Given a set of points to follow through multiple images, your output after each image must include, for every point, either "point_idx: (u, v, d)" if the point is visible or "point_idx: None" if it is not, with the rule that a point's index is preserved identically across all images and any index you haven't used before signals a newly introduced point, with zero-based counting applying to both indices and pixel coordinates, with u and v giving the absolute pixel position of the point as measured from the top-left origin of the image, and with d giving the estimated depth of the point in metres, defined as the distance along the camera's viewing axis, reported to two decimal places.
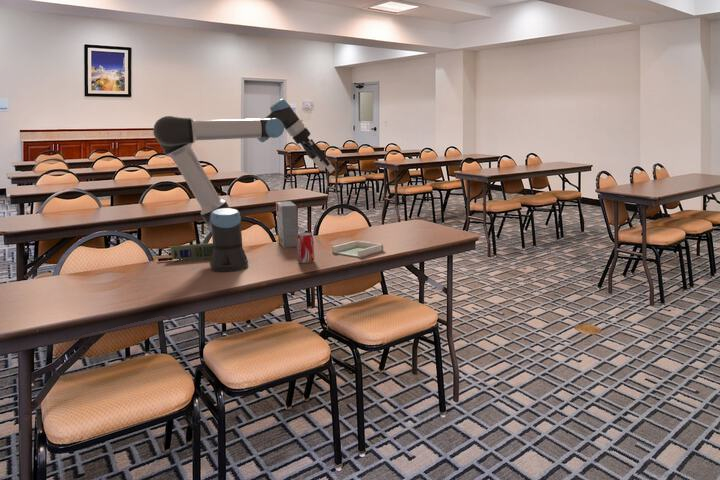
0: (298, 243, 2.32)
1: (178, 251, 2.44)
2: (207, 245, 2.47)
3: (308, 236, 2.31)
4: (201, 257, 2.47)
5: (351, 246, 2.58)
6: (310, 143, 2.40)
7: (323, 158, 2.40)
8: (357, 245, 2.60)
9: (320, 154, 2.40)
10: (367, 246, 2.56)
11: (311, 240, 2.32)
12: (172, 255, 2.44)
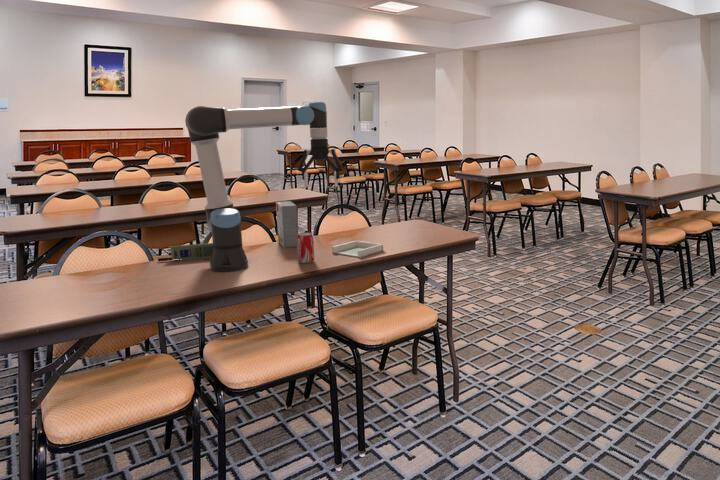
0: (298, 243, 2.32)
1: (178, 251, 2.44)
2: (207, 245, 2.48)
3: (308, 236, 2.31)
4: (201, 257, 2.48)
5: (351, 246, 2.58)
6: (334, 151, 2.47)
7: (342, 169, 2.48)
8: (357, 245, 2.60)
9: (340, 164, 2.48)
10: (367, 246, 2.56)
11: (311, 240, 2.32)
12: (172, 255, 2.44)
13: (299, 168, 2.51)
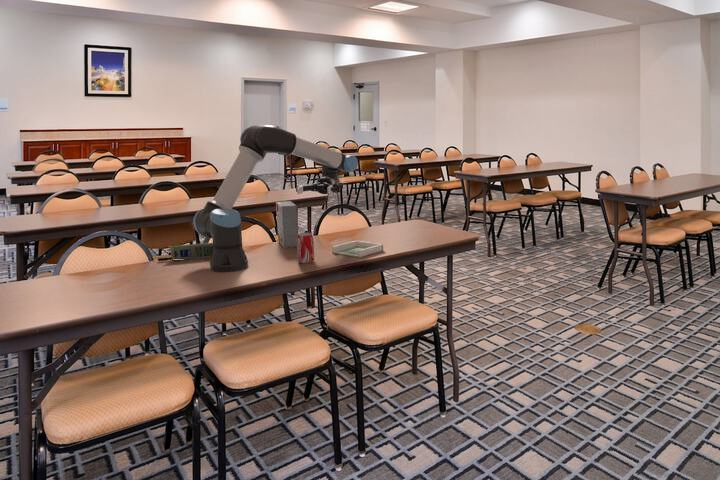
0: (298, 243, 2.32)
1: (178, 251, 2.45)
2: (207, 245, 2.48)
3: (308, 236, 2.31)
4: (201, 257, 2.48)
5: (351, 246, 2.58)
6: None
7: (339, 187, 2.50)
8: (357, 245, 2.60)
9: None
10: (367, 246, 2.56)
11: (311, 240, 2.32)
12: (172, 255, 2.44)
13: None
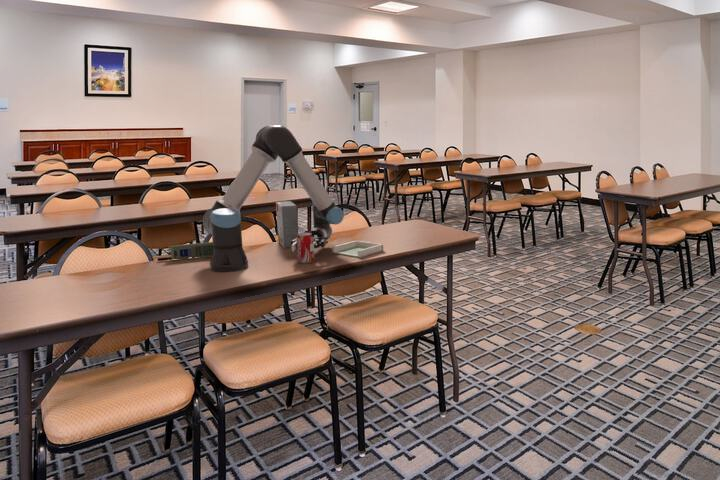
0: (298, 243, 2.32)
1: (178, 250, 2.45)
2: (206, 244, 2.50)
3: (308, 236, 2.31)
4: (201, 256, 2.49)
5: (351, 246, 2.58)
6: (327, 239, 2.43)
7: (323, 243, 2.35)
8: (357, 245, 2.60)
9: (324, 242, 2.37)
10: (367, 246, 2.56)
11: (311, 240, 2.32)
12: (172, 254, 2.45)
13: (292, 240, 2.39)
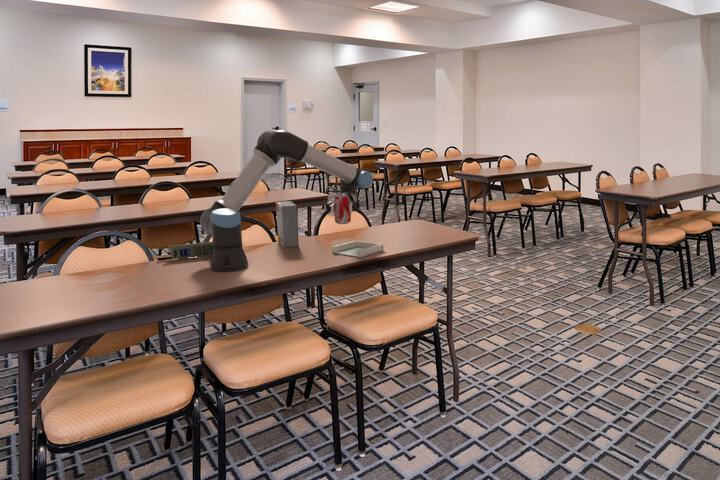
0: (336, 204, 2.39)
1: (178, 250, 2.46)
2: (206, 244, 2.50)
3: (346, 197, 2.39)
4: (200, 256, 2.50)
5: (351, 246, 2.58)
6: (359, 202, 2.51)
7: (359, 204, 2.43)
8: (357, 245, 2.60)
9: None
10: (367, 246, 2.56)
11: (349, 201, 2.39)
12: (172, 254, 2.46)
13: (328, 203, 2.45)
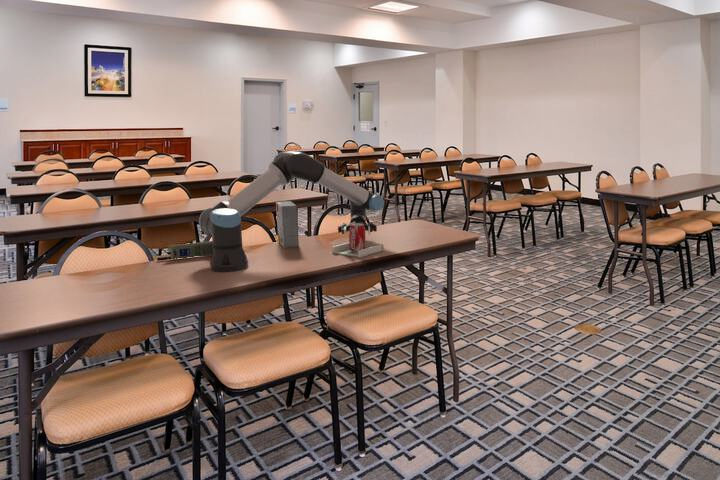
0: (352, 233, 2.46)
1: (177, 250, 2.47)
2: (205, 244, 2.51)
3: (362, 226, 2.46)
4: (200, 255, 2.51)
5: None
6: None
7: (376, 227, 2.52)
8: None
9: None
10: (367, 246, 2.56)
11: (364, 230, 2.47)
12: (171, 254, 2.46)
13: (339, 226, 2.53)
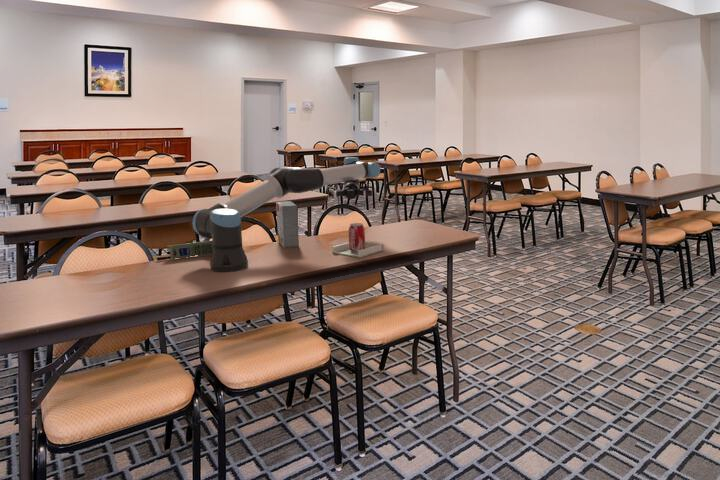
0: (352, 233, 2.46)
1: (177, 250, 2.47)
2: (205, 243, 2.53)
3: (361, 226, 2.47)
4: (199, 255, 2.52)
5: None
6: None
7: (371, 192, 2.64)
8: None
9: None
10: (367, 246, 2.56)
11: (363, 230, 2.48)
12: (171, 254, 2.47)
13: (330, 191, 2.65)
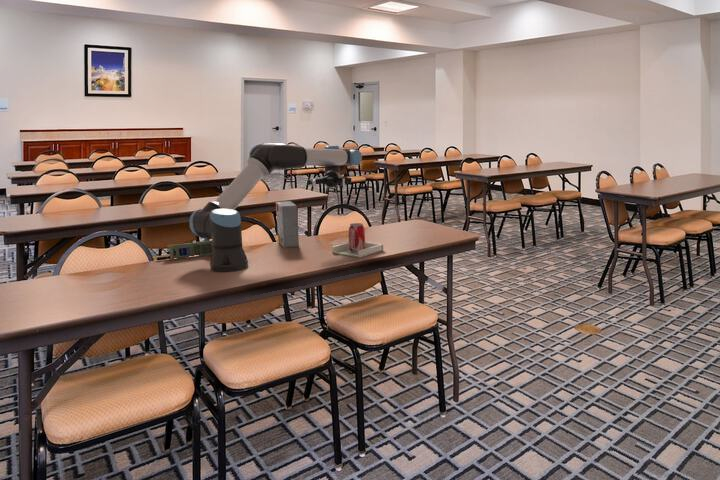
0: (352, 233, 2.46)
1: (177, 249, 2.48)
2: (204, 243, 2.53)
3: (361, 226, 2.47)
4: (199, 255, 2.52)
5: None
6: None
7: None
8: None
9: None
10: (367, 246, 2.56)
11: (363, 230, 2.48)
12: (171, 254, 2.47)
13: (309, 179, 2.63)
